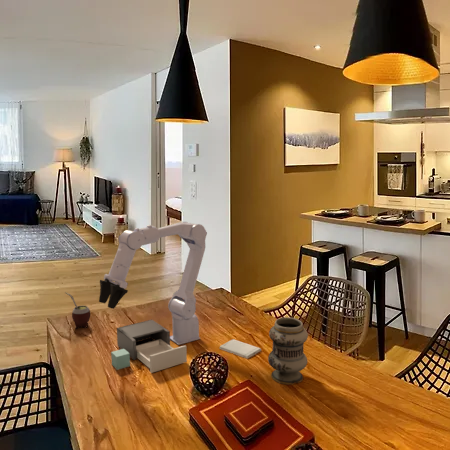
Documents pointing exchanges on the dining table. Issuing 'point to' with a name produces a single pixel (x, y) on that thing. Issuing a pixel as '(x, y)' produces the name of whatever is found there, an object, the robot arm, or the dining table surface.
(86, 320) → the mate gourd
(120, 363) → the teal block
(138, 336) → the housing
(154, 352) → the tray
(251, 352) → the hard drive
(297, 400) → the dining table surface
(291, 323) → the apothecary jar
